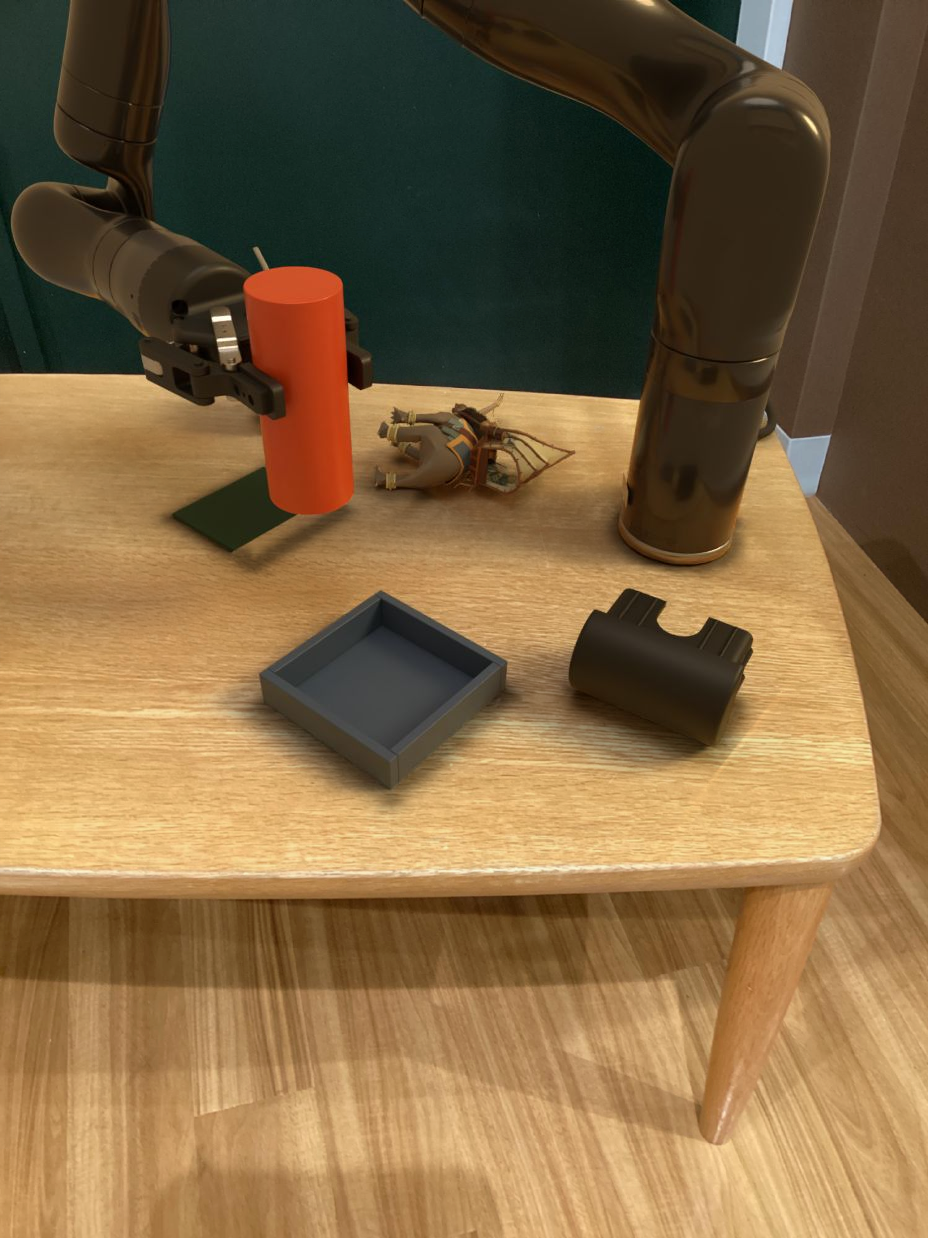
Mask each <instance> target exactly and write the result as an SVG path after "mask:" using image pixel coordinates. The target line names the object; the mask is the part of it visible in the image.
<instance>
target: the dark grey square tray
mask: <svg viewBox="0 0 928 1238" xmlns="http://www.w3.org/2000/svg"><path fill="white" fill-rule="evenodd" d="M507 671H508V660H507V659H505V658H503V657H501V656H500V655H497V654H496V653H494V652H492V651H491V650H489V649H487V648H485V647H483V646H482V645H480V644H478V643H476V642H474V641H473V640H471V639H469V638H468V637H466V636H464V635H462V634H460V633H459V632H456V631H455V630H453V629H451V628H450V627H448V626H446V625H444V624H443V623H440V622H438V621H437V620H435V619H433V618H431V617H430V616H428V615H426V614H424V613H423V612H421V611H419V610H417V609H415V608H414V607H412V606H410V605H409V604H407V603H405V602H403V601H401V600H400V599H398V598H396V597H394V596H393V595H391V594H389V593H387V592H385V591H383V590H382V589H380V590H378V591H377V592H375V593H374V594H372V595H371V596H370V597H368V598H367V599H365V600H364V601H362V602H361V603H359V604H358V605H357V606H355V607H353V608H352V609H351V610H349V611H347V612H346V613H345V614H343V615H342V616H341V617H339V618H338V619H336V620H335V621H333V622H331V623H330V624H329V625H327V626H326V627H324V628H323V629H321V630H320V631H319V632H317V633H316V634H314V635H312V636H311V637H309V638H308V639H307V640H305V641H304V642H303V643H301V644H300V645H298V646H296V647H295V648H294V649H292V650H291V651H289V652H287V654H285V655H284V656H282V657H281V658H279V659H278V660H276V661H275V662H274V663H272V664H270V665H269V666H267V668H265V669H263V670H262V671H260V672H259V673H258V676H259V678H258V679H259V683H260V688H261V689H260V690H261V695H262V700H263V703H264V704H266V705H267V706H269V707H270V708H272V709H273V710H275V711H276V712H277V713H278V714H280V715H281V716H283V717H285V718H286V719H287V720H289V721H291V722H292V723H293V724H294V725H296V726H297V727H299V728H301V729H302V730H304V731H305V732H306V733H308V735H311V736H312V737H314V738H315V739H316V740H318V741H319V742H321V743H322V744H324V745H325V746H326V747H328V748H329V749H331V750H332V751H334V752H335V753H336V754H338V755H339V756H341V757H342V758H344V759H345V760H346V761H348V762H350V763H351V764H352V765H353V766H355V767H357V768H358V769H359V770H360V771H362V772H364V773H365V774H367V775H368V776H369V777H371V778H372V779H374V780H375V781H377V782H378V783H379V784H381V785H382V786H384V787H385V788H387V789H388V790H389V791H392V790H393V789H394V788H396V786H398V785H399V784H401V782H402V781H403V780H404V779H405V778H407V777H408V776H409V775H410V774H411V773H412V772H413V771H415V770H416V769H417V768H418V767H419V766H420V765H422V763H424V762H425V761H426V760H427V759H428V758H429V757H431V755H433V754H434V753H435V752H436V751H437V750H438V749H440V748H441V747H442V746H443V745H444V744H445V743H446V742H447V741H448V740H450V739H451V738H452V737H453V736H454V735H455V734H456V733H457V732H458V731H460V730H461V729H462V728H463V727H464V726H465V725H466V724H468V723H469V722H470V721H471V720H472V719H473V718H474V717H475V716H477V715H478V714H479V713H480V712H482V710H483V709H484V708H485V707H487V706H488V705H489V704H490V703H491V702H492V701H493V700H495V699H496V698H497V697H499V695H500V694H501V693H502V692H504V690H506V687H507Z"/></svg>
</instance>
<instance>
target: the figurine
mask: <svg viewBox="0 0 928 1238" xmlns="http://www.w3.org/2000/svg"><path fill="white" fill-rule="evenodd" d="M504 398H505V392H501V393H499V396H498V399H496V400H495V401H494V402H493V403H492V404H490V405H488V406H485V407H484V408H481V409H479V410H478V409H477V408H476V407H474V406H468V405H466V404H465V403H457V402H455V404H454V407H452V408H451V412H450V411H439V412H436V413H417V412H416V411H414V409H412V410H408V412H407V411H404V410H401V409H399V408H397V407H396V406H392V408H393V411H390V414H392V415H391V416H389V418H390V419H391V420H392V421H391V422H389V425H388V423H386V421H385V420H382V422H381V423H380V426H379V429H378V431H377V432H376V435H377V436H379V439H386V440H387V442H390V444H389V446H390V447H394V448H397V452H399V455H400V456H401V455H402V454H403V455H405V456H406V455H407V456H408V457H410V458H411V459H413V460H414V461H417V462H419V464H418V468H417V469H416V470H415V471H413V472H412V473H411V474H409V475H397V474H396V473H394V472H393V471H392V470H391V471H390V472H389V473H388V472H386V474H384V473H383V472H382V471H381V470H380V467H379V465H378V464H377V463H374V480H375V485H374V487H378V486H383V485H384V486H385V489H386V490H389V491H390V492H391V491H392V489H393V490H394V489H396V488H409V489H416V490H417V489H418V490H425V489H426V490H427V489H432V488H436V487H438V486H440V485H442V484H443V486H447V485H451V484H453V483H455V482H456V481H457V480H459V479H460V478H461V477H463V476H464V475H465V474H467V473H468V472H469V474H468V475H467V476H465V477H464V478H463V479H462V480H460V481H459V482H457V484H455V485H454V486H453V488H454V489H456V488H457V487H458V486H464V487H468V488H469V489H468V490H467V491H468V492H470V491H472V490H473V489H474V488H475V487H476V486H478V485H481V486H483V487H487V488H489V489H490V490H492V491H495V492H496V493H499V494H501V495H504V496H508V495H512V494H514V493H515V492H516V491H518V490H519V489H520V488H521V486H522V485H525V484H528V483H529V482H530V481H531V480H533V479H535V478H536V477H539V475H541V474H542V473H543V472H544V471H545V470H547V469H549V468H552V467H553V466H555V465H557V464H559V463H561V462H563V461H564V460H567V459H568V458H570V457H571V456H573V455H575V454H576V451H575V450H570V449H565V448H562V447H558V446H554V444H553V443H551V444H549V443H547V442H545V441H543V440H541V439H539V438H537V437H536V436H533V435H532V434H530V433H528V432H524V431H521V430H518V429H512V428H504V427H503V428H502V427H500V425H501V424H502V422H503V419H502V418H496V416H495V409H496V408H499V407H500V405H501V404H502V403H503V401H504ZM491 412H492V416H493V419H494V420H493V421H491V420H490V418H489V417H488V416H487V415H488V414H489V413H491ZM401 424H406V425H407V426H401ZM415 424H421V425H415ZM411 443H412V444H417V443H419V448H418V447H415V446H413V445H412V444H411ZM498 451H501V452H505V453H506V454H509V455H510V456H511V459H512V460H513V463H515V466H516V467H514V468H511V467H510V468H509V467H507V466H505V465H503V464H501V463H499V462H497V458H498ZM497 465H498V466H500V467H501V469H502V470H514V471H517V476H510V475H508V474H506V473H502V472H501V471H500V470H499V468H498V466H497ZM469 478H472V479H469ZM465 481H466V482H469V483H474V484H469V483H464V482H465Z"/></svg>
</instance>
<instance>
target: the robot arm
mask: <svg viewBox="0 0 928 1238" xmlns="http://www.w3.org/2000/svg"><path fill="white" fill-rule="evenodd" d="M400 1H401V3H403V4H404V5H405V6H406V7H407V8H408V9H410V10H411V11H412V12H413V13H415V14H416V15H418V16H419V17H420V18H421V19H423V20H424V21H425V22H427V23H429V24H430V25H431V26H433V27H434V28H435V29H437V30H438V31H440V32H441V33H442V34H444V35H445V36H447V37H448V38H449V39H450V40H452V41H453V42H455V43H456V44H457V45H459V46H460V47H462V48H463V49H465V50H466V51H467V52H470V53H471V54H472V55H474V56H475V57H476V58H478V59H480V60H482V61H483V62H485V63H487V64H489V65H490V66H492V67H494V68H496V69H497V70H500V71H501V72H503V73H505V74H508V75H510V76H512V77H513V78H514V77H515V78H516V79H519V80H521V81H523V82H525V83H528V84H530V85H533V86H536V87H538V88H541V89H543V90H546V91H549V92H551V93H554V94H556V95H559V96H562V97H564V98H567V99H570V100H572V101H575V102H578V103H580V104H583V105H585V106H587V107H590V108H592V109H594V110H596V111H598V112H600V113H602V114H604V115H605V116H607V117H609V118H610V119H612V120H614V121H615V122H617V123H618V124H620V125H621V126H622V127H623V128H625V129H626V130H628V131H629V132H631V134H633V135H634V136H636V137H637V138H638V139H639V140H640V141H642V142H643V143H645V144H646V146H648V147H649V148H650V149H652V151H654V152H655V153H656V154H657V155H659V156H660V158H662V159H663V160H664V161H665V162H666V163H667V164H669V165H670V166H671V167H672V168H673V169H672V174H671V180H670V184H669V190H668V197H667V203H666V209H665V210H666V211H665V216H664V223H663V229H662V237H661V243H660V251H659V258H658V263H657V264H658V265H657V272H656V277H655V283H654V310H653V315H652V322H651V329H650V335H649V341H648V347H647V354H646V360H645V368H644V373H643V380H642V386H641V392H640V396H639V397H640V398H639V402H638V403H639V404H638V409H637V414H636V415H637V416H636V422H635V427H634V428H635V429H634V432H633V433H634V434H633V439H632V446H631V451H630V458H629V464H628V471H627V477H625V476H626V475H625V472H622V473H623V474H622V479H621V480H622V481H621V493H622V497H623V499H622V506H621V509H620V511H619V516H618V517H619V518H618V522H617V527H618V532H619V535H620V536H621V538H622V539H623V541H624V542H625V543H626V544H627V545H628V546H629V547H630V548H632V549H633V550H635V551H636V552H637V553H640V554H641V555H643V556H645V557H647V558H650V559H653V560H656V561H658V562H662V563H668V564H674V565H699V564H704V563H709V562H712V561H714V560H717V559H718V558H720V557H722V556H723V555H725V554H726V553H727V552H728V551H729V549H730V547H731V545H732V543H733V539H734V536H735V535H734V534H735V526H736V522H737V518H738V516H739V515H738V514H739V510H740V506H741V505H742V501H743V496H744V492H745V488H746V485H747V480H748V477H749V474H750V473H749V472H750V469H751V466H752V462H753V457H754V454H755V450H756V446H757V442H758V439H762V438H763V439H764V438H766V437H768V436H770V435H772V433H773V432H774V431H775V430H776V428H777V425H778V417H777V411H776V408H775V405H774V404H773V402H772V400H771V399H770V397H769V396H770V392H771V388H772V384H773V380H774V375H775V372H776V368H777V364H778V361H779V357H780V354H781V349H782V346H783V343H784V339H785V335H786V332H787V328H788V325H789V323H790V319H791V318H792V314H793V311H794V308H795V305H796V302H797V298H798V294H799V291H800V287H801V284H802V279H803V277H804V276H803V275H804V272H805V268H806V265H807V261H808V258H809V254H810V250H811V246H812V243H813V240H814V236H815V232H816V229H817V225H818V221H819V217H820V213H821V211H822V206H823V201H824V198H825V194H826V189H827V184H828V179H829V175H830V165H831V149H832V147H831V146H832V142H831V141H832V135H831V128H830V122H829V118H828V114H827V113H826V109H825V107H824V105H823V104H822V102H821V100H820V99H819V97H818V96H817V94H816V93H815V92H814V91H813V90H812V89H811V87H809V86H808V85H807V84H806V83H804V81H802V80H800V79H799V78H797V77H796V76H794V75H792V74H791V73H789V72H787V71H785V70H784V69H781V68H779V67H777V66H776V65H775V64H772V63H770V62H768V61H766V60H765V59H763V58H761V57H759V56H757V55H755V54H753V53H752V52H750V51H748V50H746V49H744V48H743V47H741V46H739V45H737V44H736V43H734V42H732V41H731V40H729V39H727V38H725V37H724V36H722V35H721V34H719V33H718V32H715V31H714V30H712V29H710V28H709V27H707V26H705V25H703V24H702V23H700V22H699V21H697V20H696V19H694V18H693V17H691V16H689V15H688V14H686V13H685V12H684V11H682V10H681V9H680V8H678V7H677V6H675V5H674V4H672V3H671V2H670V1H669V0H400ZM68 11H69V12H68V20H67V28H66V36H65V41H64V48H63V55H62V60H61V61H62V63H61V68H60V75H59V83H58V89H57V95H56V102H55V107H54V116H53V134H54V135H53V136H54V139H55V141H56V143H57V145H58V147H59V148H60V149H61V150H62V152H63V153H64V154H66V155H67V157H69V158H70V159H72V160H73V161H75V162H76V163H78V164H80V165H82V166H84V167H86V168H87V169H90V170H92V171H94V172H97V173H99V174H102V175H105V176H106V177H108V180H107V185H106V188H97V187H90V186H83V185H77V184H69V183H63V182H57V181H39V182H35V183H33V184H31V185H29V186H28V187H26V188H24V190H23V191H22V192H21V193H20V194H19V195H18V197H17V198H16V200H15V202H14V203H13V207H12V211H11V217H10V228H11V233H12V238H13V241H14V243H15V246H16V249H17V251H18V253H19V255H20V256H21V258H22V259H23V261H24V262H25V264H26V265H27V266H28V267H29V268H30V269H31V270H32V271H33V272H34V273H35V274H36V275H38V276H39V277H40V278H42V279H43V280H44V281H46V282H48V283H50V284H53V285H56V286H58V287H60V288H63V289H66V290H68V291H71V292H74V293H77V294H79V295H82V296H85V297H89V298H93V299H96V300H99V301H101V302H104V303H106V304H107V305H109V306H110V307H111V308H112V309H114V310H115V311H117V312H118V313H119V314H121V315H122V316H123V317H125V318H126V319H127V320H128V321H129V322H130V324H131V325H132V326H133V327H134V328H135V329H137V331H139V332H140V333H141V334H142V335H144V337H141V338H140V339H138V341H137V343H138V346H139V350H140V356H141V360H142V366H143V370H144V375H145V379H146V381H148V382H151V383H153V384H154V385H157V386H158V387H160V388H162V389H163V390H165V391H168V392H170V393H172V394H174V395H176V396H178V397H179V398H182V399H184V400H186V401H188V402H190V403H192V404H194V405H196V406H198V407H209V406H212V405H213V404H215V402H216V398H218V397H226V400H228V401H229V402H235V403H236V402H239V403H241V405H243V406H245V407H246V408H248V409H249V410H251V412H253V413H255V414H256V415H259V414H260V415H266V416H268V417H269V418H270V419H272V420H277V419H280V418H283V417H285V416H286V407H285V397H284V390H283V387H282V385H281V384H280V383H279V382H278V381H276V380H275V379H274V378H272V377H271V376H269V375H268V374H266V373H265V372H263V371H261V370H260V369H258V368H257V367H256V366H254V365H253V361H252V353H251V345H250V337H249V330H248V322H247V314H246V306H245V298H244V290H243V285H244V282H245V281H246V280H247V279H248V278H249V277H251V276H252V275H253V274H251V273H250V272H249V271H248V270H246V269H245V268H244V267H242V266H240V265H238V264H237V263H236V262H233V261H232V260H230V259H228V258H226V257H225V256H223V255H221V254H219V253H218V252H216V251H214V250H212V249H210V248H209V247H207V246H205V245H204V244H201V243H200V242H198V241H196V240H194V239H192V238H190V237H188V236H186V235H182V234H178V233H175V232H173V231H171V230H169V229H168V228H166V227H164V226H162V225H160V224H159V223H157V220H156V208H155V179H154V178H155V177H154V176H155V175H154V174H155V170H154V169H155V168H154V167H155V166H154V165H155V164H154V163H155V149H156V145H157V141H158V135H159V130H160V128H161V127H160V126H161V123H162V118H163V113H164V108H165V104H166V99H167V95H168V89H169V83H170V77H171V69H172V59H173V58H172V57H173V34H172V21H171V20H172V19H171V7H170V0H70V3H69V10H68ZM344 318H345V336H346V354H347V372H348V385H351V386H352V387H354V388H355V389H357V390H359V391H364V390H366V389H370V388H371V387H373V383H374V382H373V379H374V364H373V362H374V361H373V355H372V354H371V352H369V351H368V350H365V349H364V348H362V347H360V344H359V318H358V317H357V316H356V315H355V314H353V312H351V311H350V310H349V309H348V308H346V307H345V306H344ZM765 415H766V418H767V421H766V425H765V426H764V427H762V424H763V419H764V416H765ZM761 427H762V428H761Z"/></svg>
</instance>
